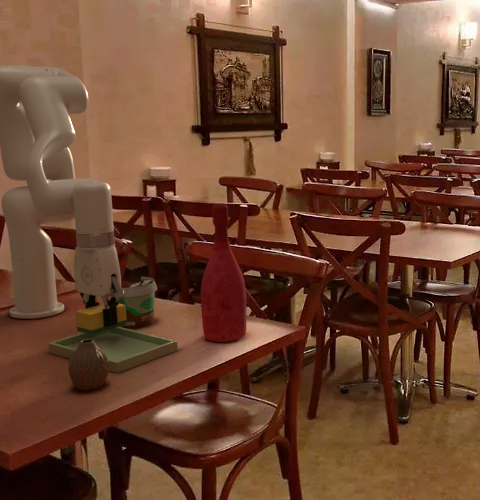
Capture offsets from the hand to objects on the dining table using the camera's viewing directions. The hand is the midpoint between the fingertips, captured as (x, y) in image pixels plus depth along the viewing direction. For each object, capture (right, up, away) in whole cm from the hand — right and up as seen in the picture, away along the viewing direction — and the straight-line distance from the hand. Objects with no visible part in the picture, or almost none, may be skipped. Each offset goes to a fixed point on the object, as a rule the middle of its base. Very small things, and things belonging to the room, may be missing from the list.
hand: (102, 322), depth 152 cm
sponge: (0, -1, 0) cm, 1 cm away
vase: (+6, -10, -22) cm, 25 cm away
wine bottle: (+25, -4, +6) cm, 26 cm away
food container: (+4, -2, +16) cm, 16 cm away
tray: (+4, -6, -4) cm, 8 cm away
